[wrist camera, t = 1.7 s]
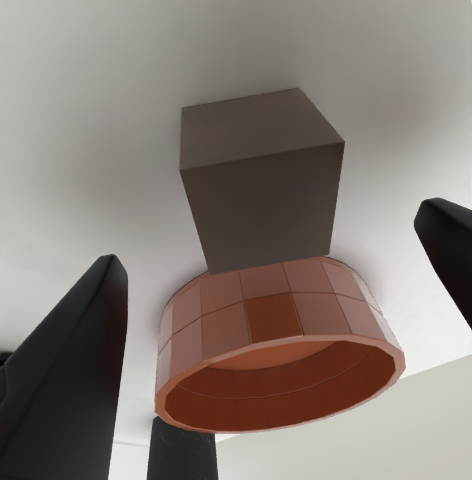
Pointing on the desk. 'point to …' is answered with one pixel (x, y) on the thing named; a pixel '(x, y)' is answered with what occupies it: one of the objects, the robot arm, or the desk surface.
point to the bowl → (272, 348)
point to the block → (260, 179)
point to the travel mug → (181, 453)
